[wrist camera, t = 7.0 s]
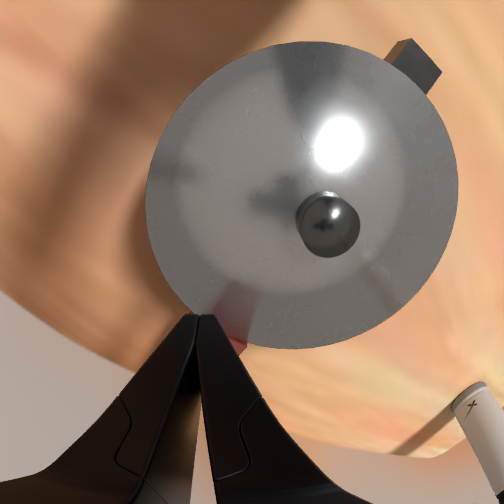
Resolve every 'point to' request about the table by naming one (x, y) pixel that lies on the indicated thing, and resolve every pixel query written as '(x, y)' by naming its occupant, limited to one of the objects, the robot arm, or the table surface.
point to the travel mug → (484, 431)
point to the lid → (301, 195)
